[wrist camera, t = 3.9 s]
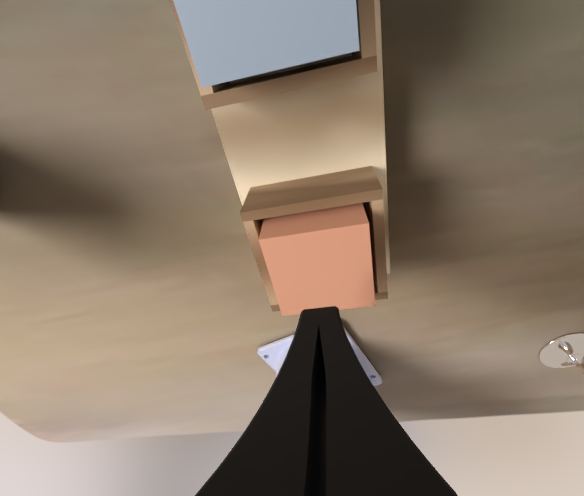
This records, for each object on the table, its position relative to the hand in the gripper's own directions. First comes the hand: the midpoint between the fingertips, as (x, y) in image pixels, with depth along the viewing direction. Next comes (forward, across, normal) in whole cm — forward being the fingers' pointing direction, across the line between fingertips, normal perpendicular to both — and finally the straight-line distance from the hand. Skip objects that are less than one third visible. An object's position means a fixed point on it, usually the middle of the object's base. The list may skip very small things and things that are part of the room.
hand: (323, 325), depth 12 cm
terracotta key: (+6, 0, 0) cm, 6 cm away
